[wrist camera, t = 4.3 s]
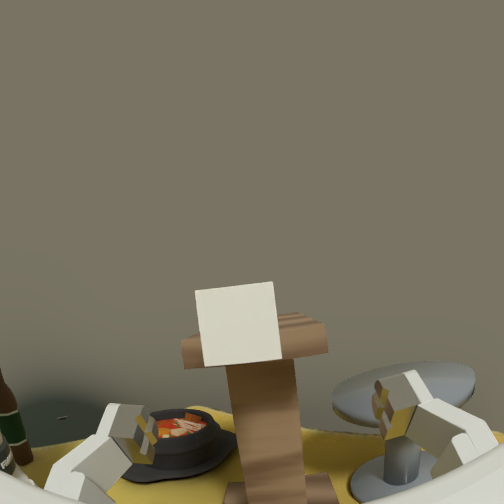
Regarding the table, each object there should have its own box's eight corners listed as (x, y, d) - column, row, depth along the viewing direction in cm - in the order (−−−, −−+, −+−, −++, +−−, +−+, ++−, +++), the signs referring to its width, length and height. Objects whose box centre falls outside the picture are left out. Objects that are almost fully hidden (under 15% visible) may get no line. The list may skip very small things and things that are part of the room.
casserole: (204, 428, 59) (198, 395, 60) (265, 451, 46) (259, 412, 47) (101, 459, 41) (89, 421, 42) (141, 506, 28) (125, 461, 30)
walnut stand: (354, 557, 16) (352, 319, 20) (214, 571, 16) (154, 342, 20) (326, 478, 34) (312, 309, 38) (230, 488, 34) (202, 323, 38)
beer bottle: (-3, 455, 31) (-33, 340, 35) (26, 448, 38) (-1, 338, 42) (10, 470, 28) (-26, 343, 32) (40, 461, 35) (10, 341, 39)
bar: (282, 358, 11) (272, 281, 12) (204, 366, 11) (195, 290, 12) (269, 317, 35) (266, 291, 35) (244, 320, 35) (241, 294, 35)
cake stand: (310, 508, 27) (302, 409, 29) (367, 446, 41) (364, 364, 43) (447, 525, 15) (471, 411, 18) (468, 446, 29) (476, 355, 31)
